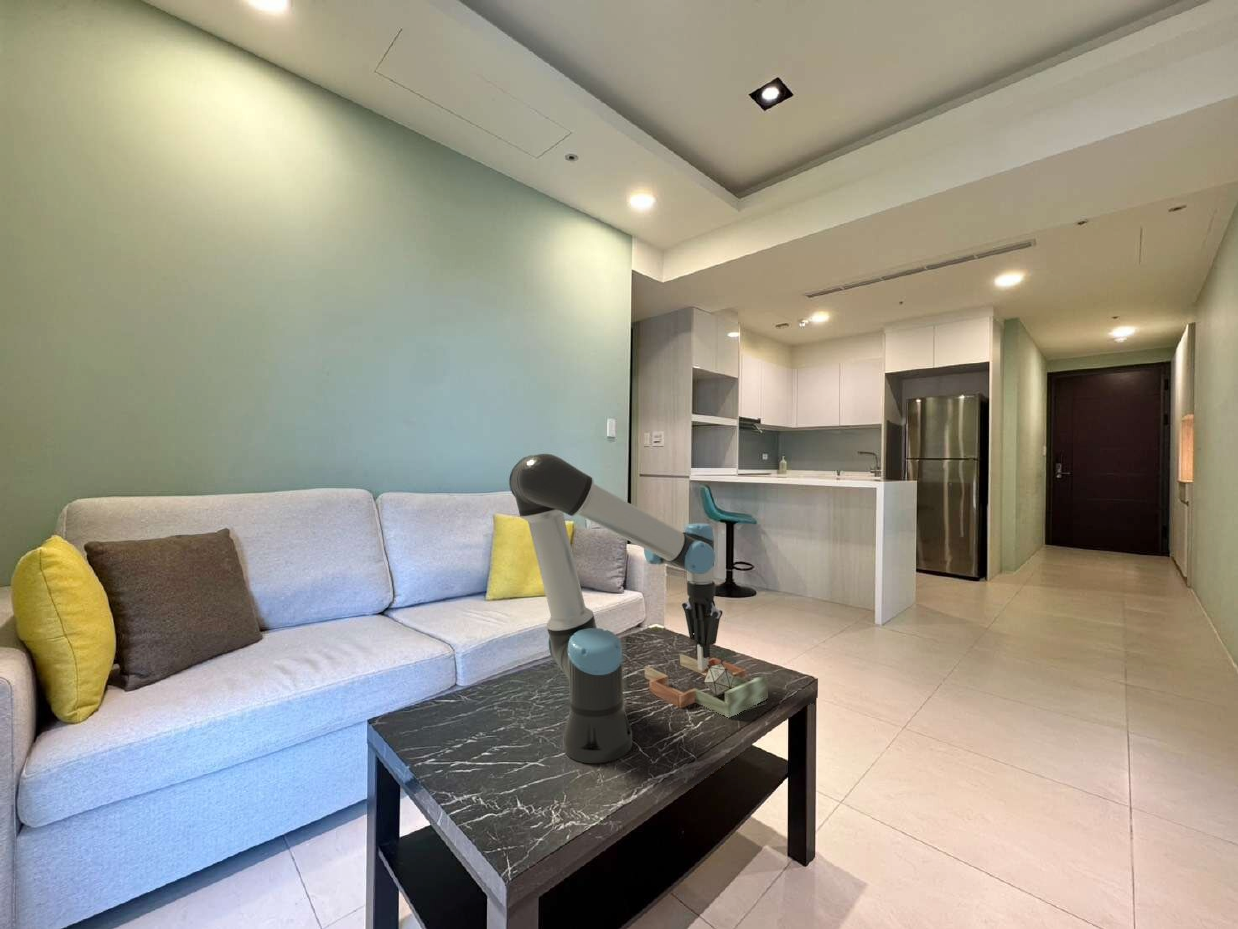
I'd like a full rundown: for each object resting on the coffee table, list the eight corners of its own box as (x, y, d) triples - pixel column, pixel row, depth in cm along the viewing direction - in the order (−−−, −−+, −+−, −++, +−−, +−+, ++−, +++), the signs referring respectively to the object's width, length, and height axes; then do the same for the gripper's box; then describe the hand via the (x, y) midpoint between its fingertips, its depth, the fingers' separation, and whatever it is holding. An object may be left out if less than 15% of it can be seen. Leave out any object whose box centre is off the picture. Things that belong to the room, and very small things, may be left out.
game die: (726, 710, 129) (743, 688, 124) (696, 699, 129) (712, 677, 124) (725, 680, 137) (741, 658, 132) (696, 670, 137) (711, 648, 132)
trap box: (714, 725, 115) (713, 699, 115) (631, 682, 140) (630, 660, 140) (779, 694, 130) (779, 671, 130) (694, 660, 154) (693, 640, 155)
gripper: (728, 582, 132) (731, 672, 131) (693, 575, 142) (695, 657, 142) (709, 587, 127) (712, 680, 127) (674, 579, 137) (676, 664, 137)
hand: (703, 668), depth 134 cm, fingers closed
